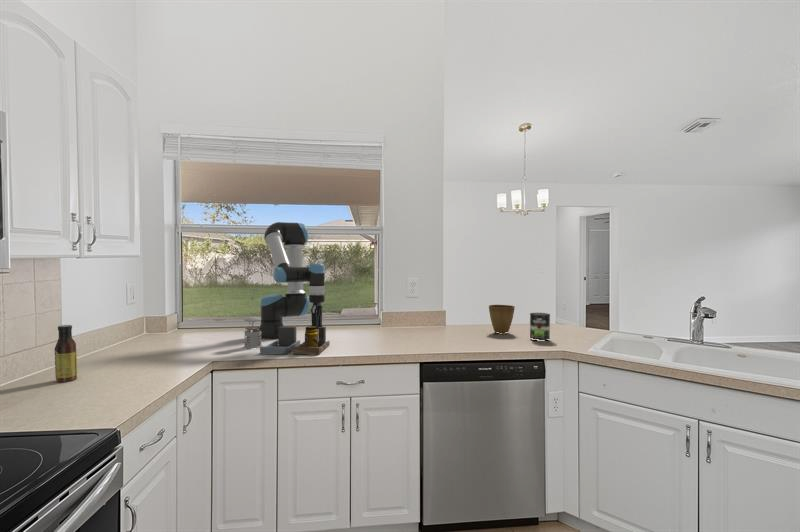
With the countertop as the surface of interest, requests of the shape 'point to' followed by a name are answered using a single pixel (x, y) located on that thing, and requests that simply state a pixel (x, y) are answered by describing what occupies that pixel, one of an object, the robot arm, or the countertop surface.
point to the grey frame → (282, 342)
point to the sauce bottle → (65, 355)
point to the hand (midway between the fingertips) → (317, 341)
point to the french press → (252, 333)
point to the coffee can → (540, 326)
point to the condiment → (311, 336)
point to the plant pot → (501, 317)
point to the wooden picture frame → (313, 350)
